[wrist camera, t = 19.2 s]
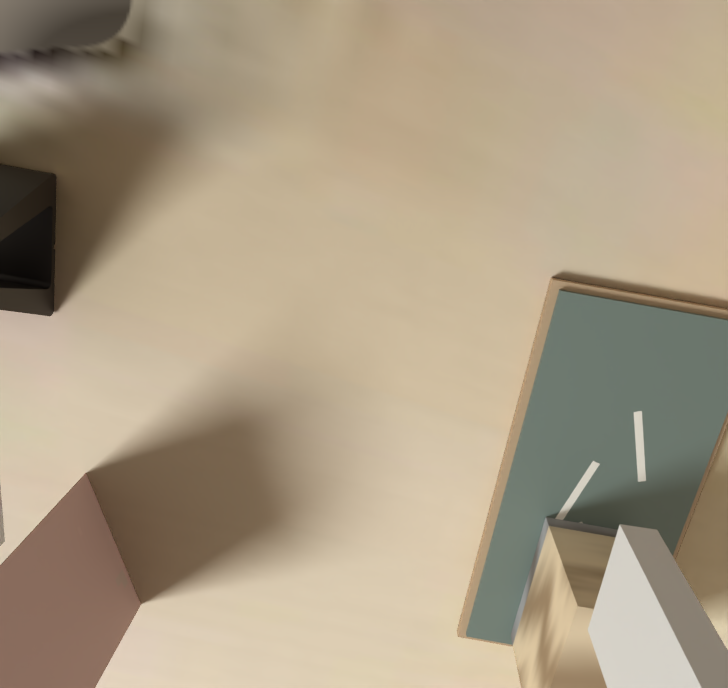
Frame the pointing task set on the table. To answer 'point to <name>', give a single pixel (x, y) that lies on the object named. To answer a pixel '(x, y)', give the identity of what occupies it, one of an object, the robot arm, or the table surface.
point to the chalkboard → (602, 433)
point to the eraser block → (561, 607)
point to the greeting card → (64, 598)
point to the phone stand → (27, 240)
